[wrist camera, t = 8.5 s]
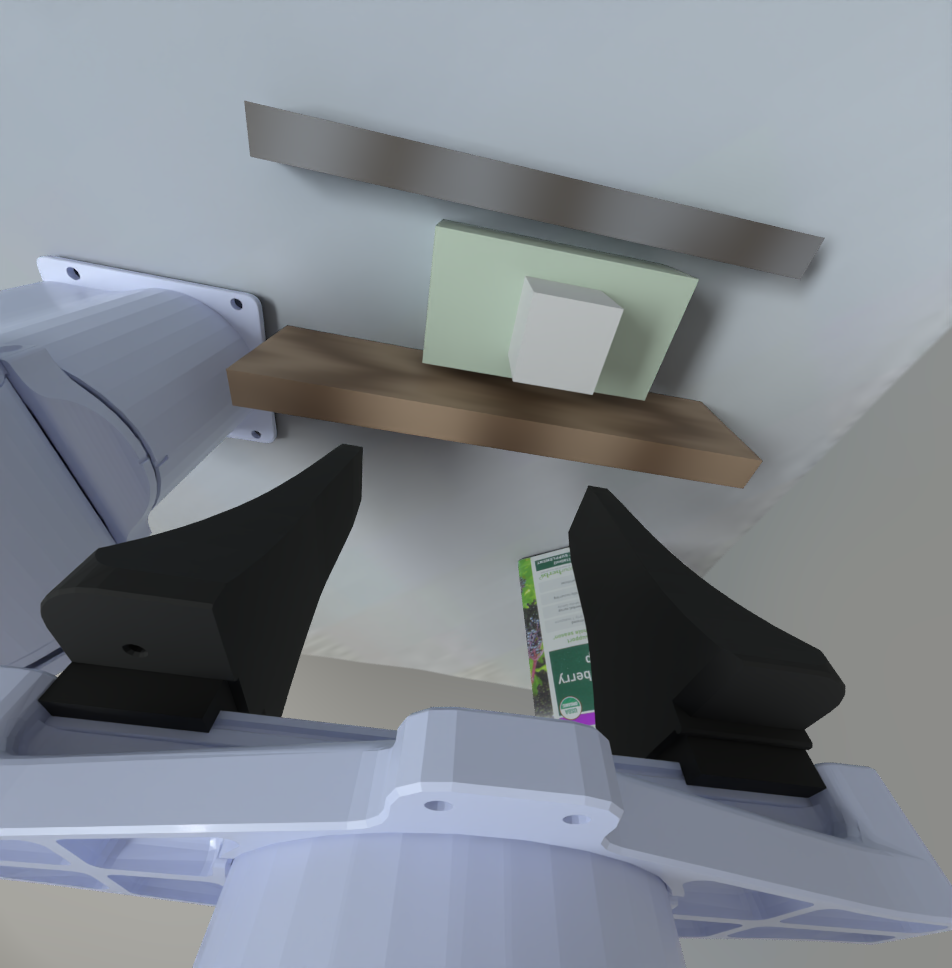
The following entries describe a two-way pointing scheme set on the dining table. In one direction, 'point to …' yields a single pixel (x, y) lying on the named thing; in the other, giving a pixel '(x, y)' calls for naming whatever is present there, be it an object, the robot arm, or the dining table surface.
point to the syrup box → (556, 638)
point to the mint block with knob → (550, 311)
